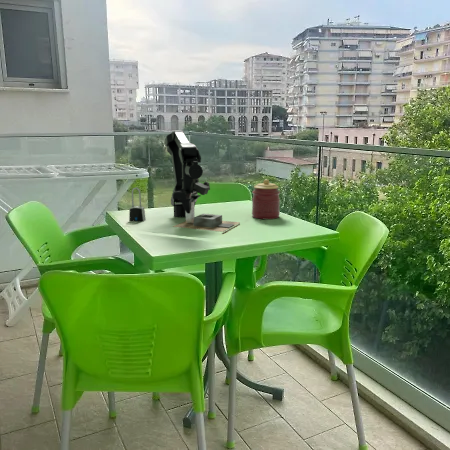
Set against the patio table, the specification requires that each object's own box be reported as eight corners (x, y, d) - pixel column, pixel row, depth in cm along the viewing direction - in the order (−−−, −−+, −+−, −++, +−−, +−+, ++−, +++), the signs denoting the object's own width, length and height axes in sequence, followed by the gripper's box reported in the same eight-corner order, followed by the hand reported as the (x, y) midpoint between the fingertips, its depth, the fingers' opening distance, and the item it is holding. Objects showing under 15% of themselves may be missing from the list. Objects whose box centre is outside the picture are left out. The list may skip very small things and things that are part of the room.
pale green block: (182, 222, 179) (181, 199, 176) (185, 220, 181) (185, 198, 179) (194, 223, 176) (194, 199, 174) (197, 221, 179) (197, 198, 176)
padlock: (128, 221, 187) (126, 188, 183) (131, 219, 191) (129, 186, 187) (143, 221, 186) (141, 188, 183) (145, 219, 190) (144, 186, 187)
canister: (279, 214, 201) (280, 177, 197) (280, 219, 188) (281, 181, 184) (252, 213, 202) (252, 177, 198) (251, 219, 190) (251, 180, 186)
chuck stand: (172, 228, 172) (172, 218, 171) (192, 220, 188) (192, 210, 187) (223, 234, 163) (223, 222, 162) (240, 224, 179) (240, 214, 178)
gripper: (196, 179, 163) (196, 218, 166) (216, 174, 179) (216, 210, 183) (171, 178, 167) (172, 216, 171) (193, 173, 184) (193, 208, 187)
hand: (190, 212), depth 178 cm, fingers closed on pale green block, 3 cm apart
